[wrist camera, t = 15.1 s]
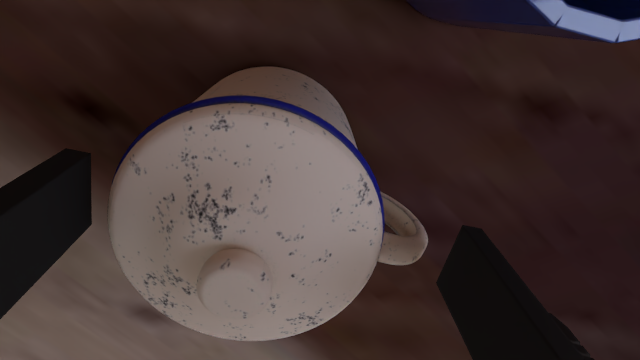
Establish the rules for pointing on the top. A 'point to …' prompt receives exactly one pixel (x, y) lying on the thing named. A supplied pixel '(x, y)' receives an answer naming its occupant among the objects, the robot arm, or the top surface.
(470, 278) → the robot arm
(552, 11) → the pen pot
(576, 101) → the top surface
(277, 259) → the teacup with lid
